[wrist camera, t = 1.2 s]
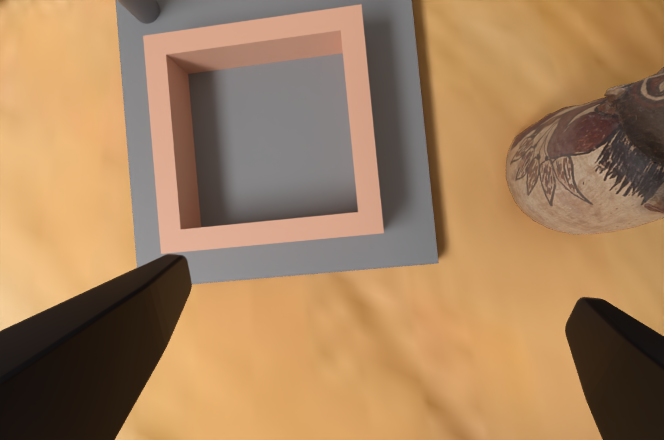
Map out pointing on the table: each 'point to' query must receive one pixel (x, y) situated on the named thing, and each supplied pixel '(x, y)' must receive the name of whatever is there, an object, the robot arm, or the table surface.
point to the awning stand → (275, 136)
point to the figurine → (594, 162)
